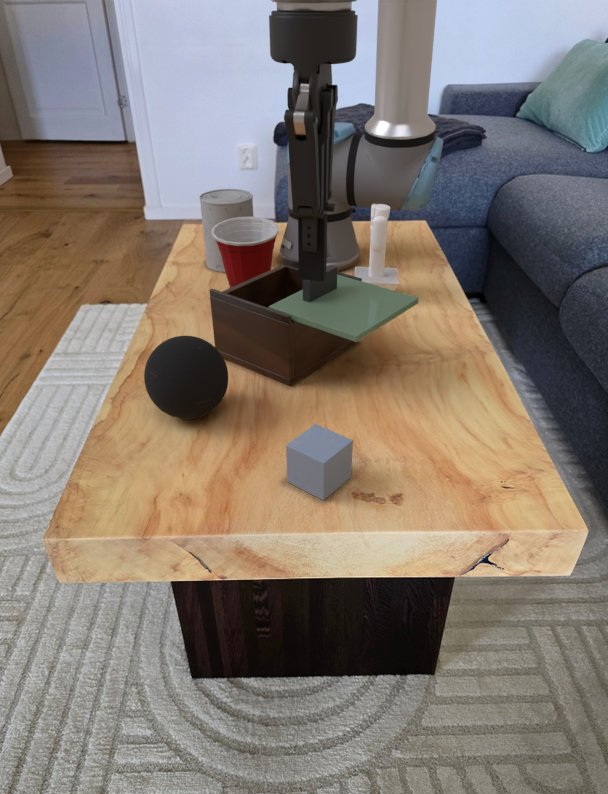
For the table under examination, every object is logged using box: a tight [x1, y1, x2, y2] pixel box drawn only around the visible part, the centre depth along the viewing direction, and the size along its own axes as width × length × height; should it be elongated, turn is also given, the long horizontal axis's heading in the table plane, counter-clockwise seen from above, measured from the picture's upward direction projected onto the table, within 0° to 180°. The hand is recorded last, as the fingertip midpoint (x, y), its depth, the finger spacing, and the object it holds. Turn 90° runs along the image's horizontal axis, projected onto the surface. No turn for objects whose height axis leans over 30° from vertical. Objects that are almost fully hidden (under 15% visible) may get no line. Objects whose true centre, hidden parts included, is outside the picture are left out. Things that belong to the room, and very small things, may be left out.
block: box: [285, 423, 354, 501], centre depth 67 cm, size 5×5×5 cm
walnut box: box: [209, 257, 362, 387], centre depth 90 cm, size 16×14×10 cm
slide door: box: [269, 265, 420, 342], centre depth 81 cm, size 14×14×4 cm
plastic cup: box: [212, 216, 280, 288], centre depth 104 cm, size 11×11×12 cm
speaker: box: [143, 335, 229, 420], centre depth 77 cm, size 10×10×10 cm
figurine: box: [353, 204, 399, 291], centre depth 104 cm, size 7×9×15 cm
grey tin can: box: [199, 188, 254, 273], centre depth 117 cm, size 10×10×12 cm
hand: (312, 277), depth 67 cm, fingers closed
